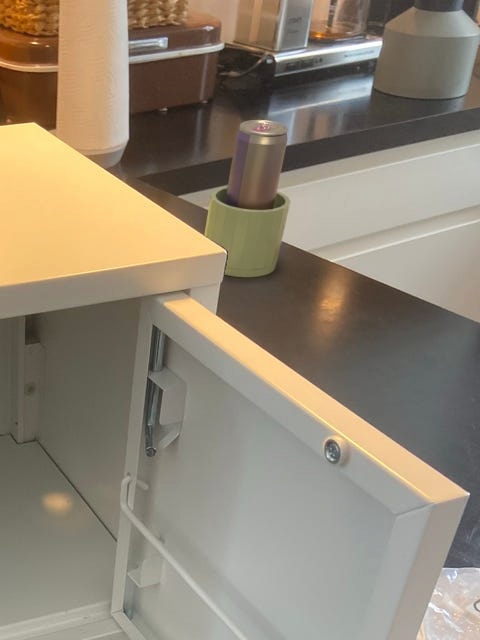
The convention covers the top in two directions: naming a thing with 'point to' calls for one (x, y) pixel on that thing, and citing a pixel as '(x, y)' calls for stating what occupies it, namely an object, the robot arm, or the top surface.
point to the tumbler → (247, 234)
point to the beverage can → (256, 165)
